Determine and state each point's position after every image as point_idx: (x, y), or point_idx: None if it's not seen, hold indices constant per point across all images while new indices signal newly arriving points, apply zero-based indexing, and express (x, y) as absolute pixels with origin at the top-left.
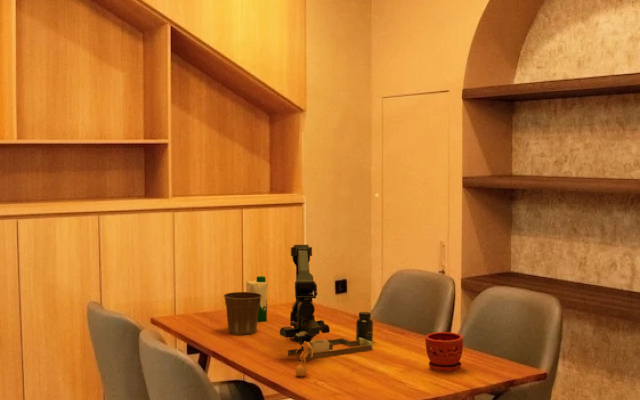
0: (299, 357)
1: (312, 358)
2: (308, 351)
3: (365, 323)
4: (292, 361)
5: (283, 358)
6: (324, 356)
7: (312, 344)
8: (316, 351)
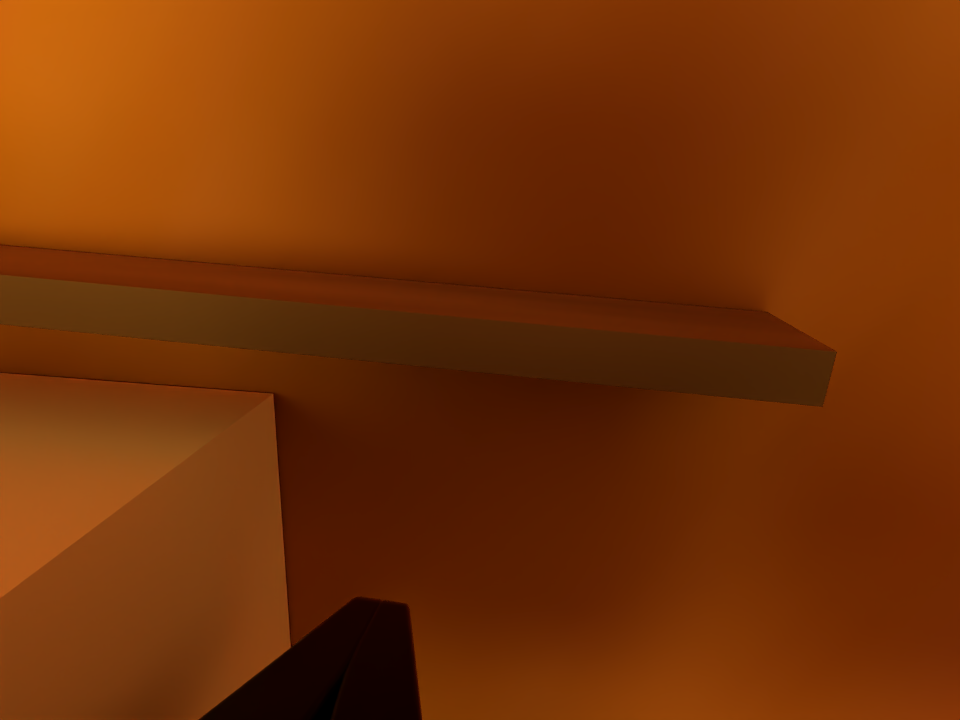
0: (807, 337)
1: (362, 279)
2: (245, 650)
3: None
4: (943, 388)
5: (907, 707)
6: (13, 250)
7: (8, 672)
8: (90, 440)
